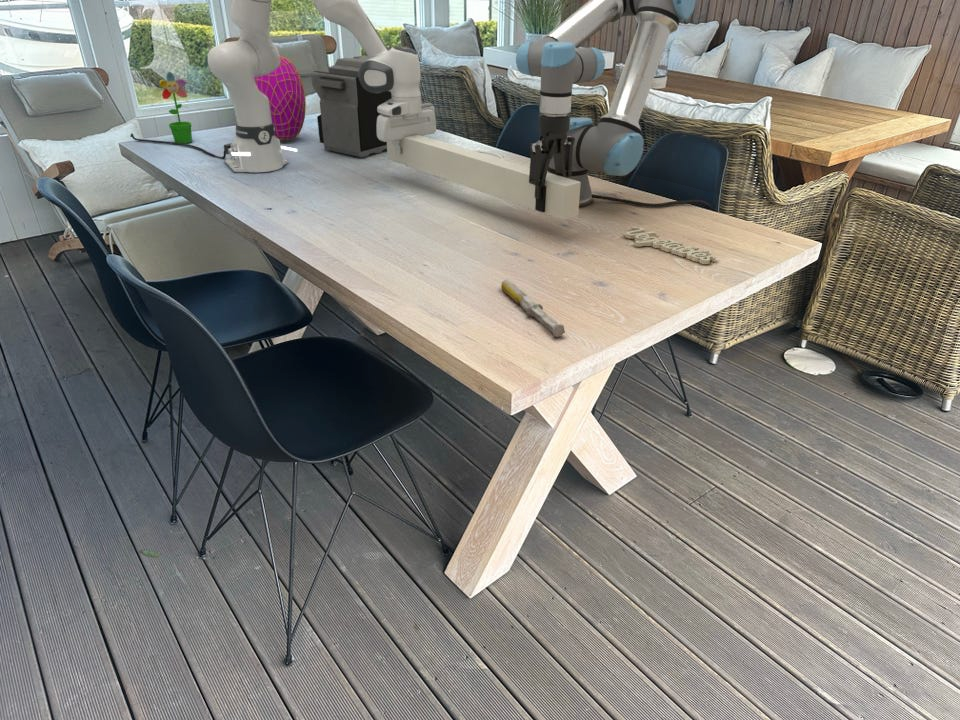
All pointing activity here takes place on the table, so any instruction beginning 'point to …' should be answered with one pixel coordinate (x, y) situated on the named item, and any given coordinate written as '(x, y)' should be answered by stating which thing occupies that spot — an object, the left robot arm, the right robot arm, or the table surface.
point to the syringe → (532, 308)
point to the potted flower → (178, 129)
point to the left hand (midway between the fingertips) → (408, 152)
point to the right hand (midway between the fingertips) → (548, 208)
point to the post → (487, 174)
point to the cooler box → (348, 109)
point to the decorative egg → (284, 99)
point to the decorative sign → (669, 245)
